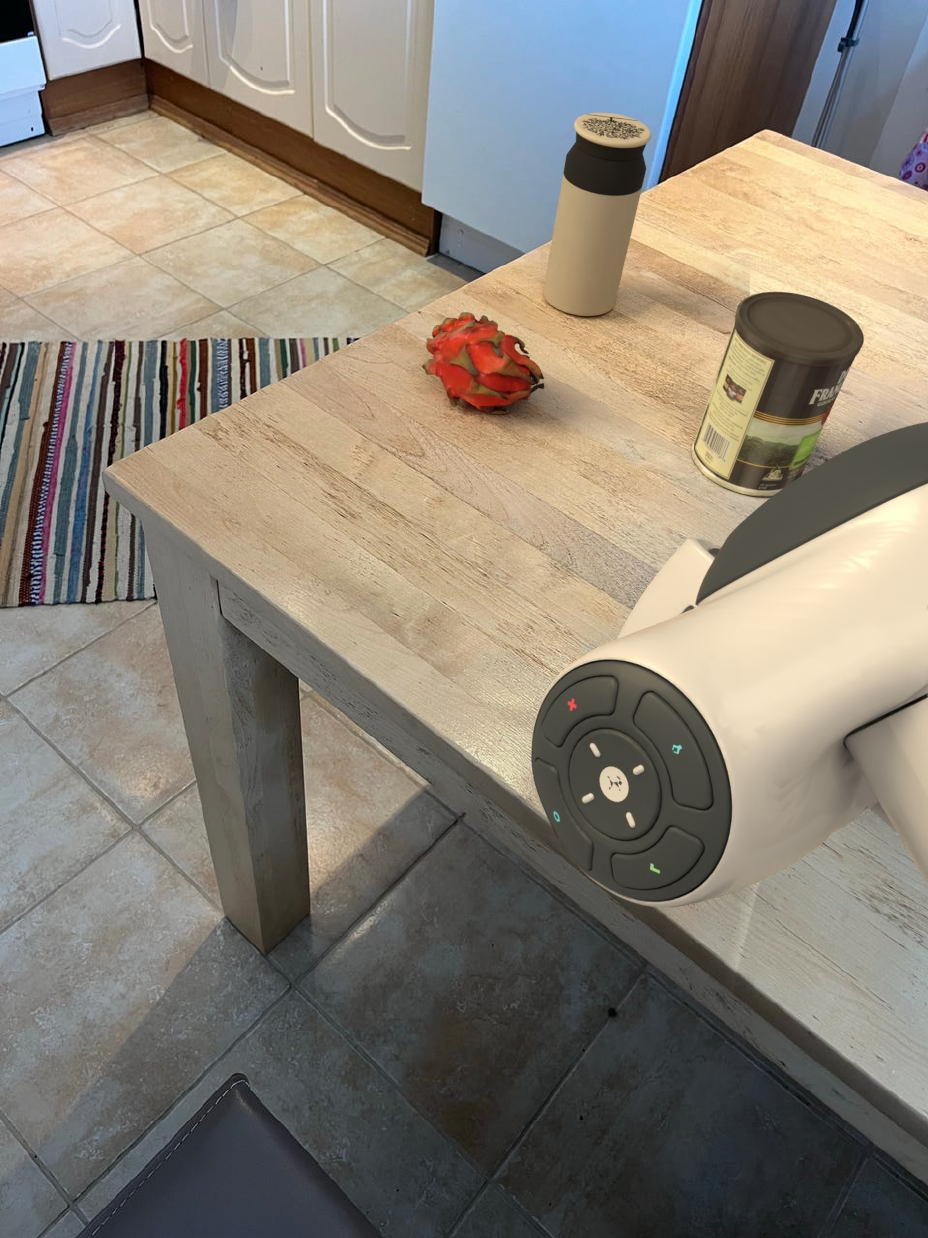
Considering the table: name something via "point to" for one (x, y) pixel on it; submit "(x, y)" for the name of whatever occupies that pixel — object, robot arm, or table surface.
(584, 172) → the travel mug
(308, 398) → the table surface
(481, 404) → the dragon fruit
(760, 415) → the coffee can
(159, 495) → the table surface
